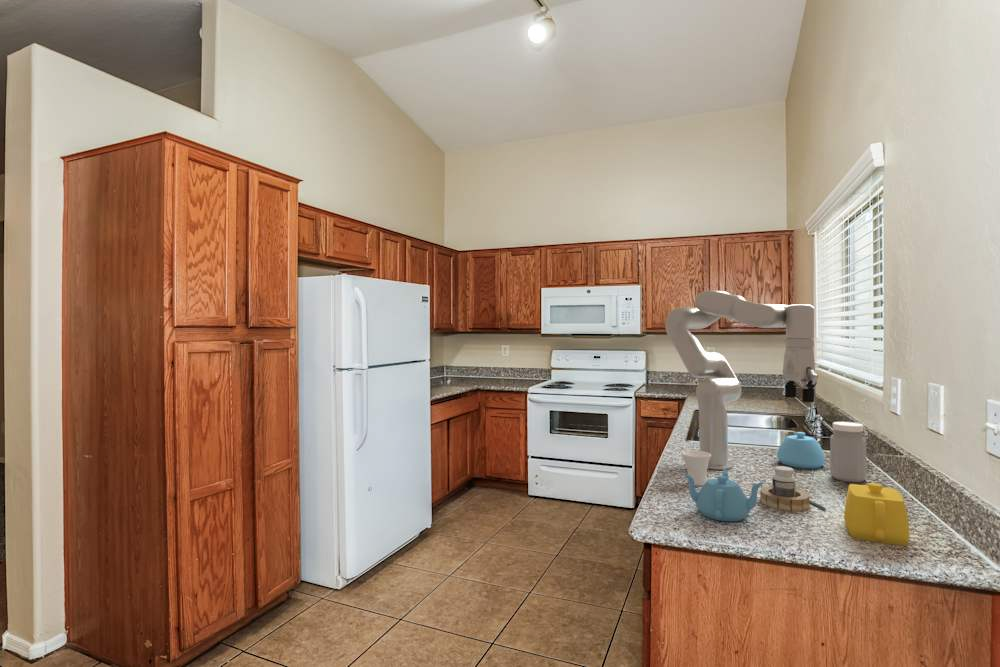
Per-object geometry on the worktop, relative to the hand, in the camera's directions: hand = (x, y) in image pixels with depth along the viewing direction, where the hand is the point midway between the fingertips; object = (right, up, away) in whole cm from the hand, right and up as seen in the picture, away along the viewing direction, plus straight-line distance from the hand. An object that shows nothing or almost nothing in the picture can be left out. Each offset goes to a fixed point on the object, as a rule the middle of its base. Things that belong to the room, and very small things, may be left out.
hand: (799, 399), depth 162 cm
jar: (+21, -27, +8) cm, 35 cm away
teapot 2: (-2, -28, -35) cm, 45 cm away
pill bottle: (-13, -28, -14) cm, 34 cm away
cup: (-30, -28, +5) cm, 41 cm away
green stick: (-5, -27, -14) cm, 31 cm away
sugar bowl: (+16, -27, +27) cm, 42 cm away
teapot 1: (-33, -28, -22) cm, 49 cm away
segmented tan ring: (-13, -28, -15) cm, 34 cm away
